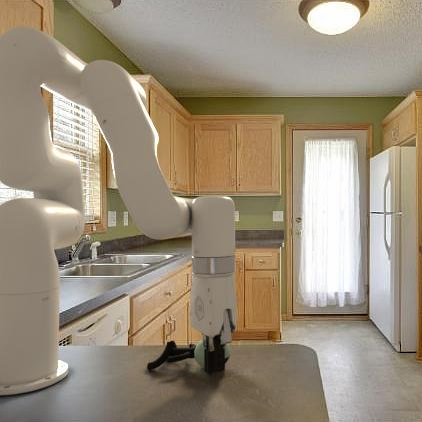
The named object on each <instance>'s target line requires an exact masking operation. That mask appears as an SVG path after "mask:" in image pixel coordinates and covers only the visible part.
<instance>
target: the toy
mask: <svg viewBox="0 0 422 422" xmlns="http://www.w3.org/2000/svg"><path fill="white" fill-rule="evenodd" d="M204 349H206V348H204V346H203V338H202V339H200V341H199V342H198V343H197V344H195V343H189V345H188V347H177V343H176V342H175V340H169V341H166V345H165V347H164V349H163V351H162V353H161V354H160V356H159V357H158V358H157V359H155V360H153V361H149V362H148V363H147V364H146V369H147V370H148V371H151V370H156V369H157V368H159V367H161V366H162V365H163V364H164V363H165V362H167V364H170V363H171V364H172V363H177V362H182V361H184V360H187V359H194V360H195V362H196V363H197V365H198V366H200V367H201V368H203V369H204ZM230 357H231V347H230V343H228V344H226V348H225V365H226V364H227V363H228V362H229V359H230Z"/></svg>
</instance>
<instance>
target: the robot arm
mask: <svg viewBox="0 0 422 422" xmlns="http://www.w3.org/2000/svg"><path fill="white" fill-rule="evenodd" d="M41 88H43V89H45V90H47V91H48V92H50V93H52V94H54V95H55V96H57V97H59V98H62V99H63V100H66V101H68V102H70V103H73V104H75V105H77V106H81V107H83V108H86V109H88V110H90V112H91V114H92V116H93V117H94V119H95V121H96V123H97V125H98V127H99V130H100V132H101V134H102V135H103V138H104V140H105V142H106V144H107V146H108V149H109V151H110V153H111V165H112V169H113V177H114V180H115V184H116V187H117V190H118V193H119V195H120V197H121V199H122V201H123V204H124V206H125V208H126V209H127V211H128V214H129V217H130V219H132V221H133V223H134V225H135V226H136V228H137V229H138V230H139V231H140V232H141V233H142V234H143V235H145V236H146V237H148V238H150V239H153V240H168V239H176V238H181V237H187V236H191V276H192V281H191V287H190V301H189V302H190V303H189V305H190V306H189V325H190V327H192V328H193V329H194V330H196V331H198V332H200V333H201V336H202V339H203V346H204V348H206V349H204V368H203V369H204V372H205V373H207V374H208V375H214V374H217V373H221V372H224V371H225V370H226V364H225V348H226V344H231V343H232V342H233V337H232V334H234V333H236V331H237V328H238V302H237V301H238V299H237V290H236V289H237V288H236V281H235V275H236V207H235V206H236V205H235V202H234V201H235V200H233V199H232V198H231V197H229V196H224V195H203V196H198V197H195V198H189V197H188V198H187V197H181V196H177V195H174V194H173V192H172V190H171V188H170V186H169V184H168V182H167V180H166V178H165V175H164V173H163V170H162V169H161V166H160V163H159V159H158V154H157V153H158V152H157V149H158V146H159V144H160V137H159V133H158V132H157V129H156V128H155V125H154V124H153V121H152V120H151V119H152V118H151V117H150V114H149V113H148V111H147V104H148V103H147V101H148V100H147V94H146V91H145V90H144V88H143V86H142V85H141V84H140V82H139V81H137V80H136V79H135V78H134V77H133V76H132V75H131V74H130V73H129V72H128V71H127V70H126V69H125V68H124V67H122V66H121V65H120V64H118V63H116V62H115V61H111V60H108V59H107V60H106V59H96V60H93V61H90V62H89V63H87V62H86V61H84V60H82V58H80V57H79V56H78V55H76V54H75V53H74V52H73V51H72V50H70V49H69V48H67V46H65V45H64V44H62V43H61V42H60V41H59V40H58V39H57V38H54V37H53V36H52V35H50V34H48V33H46V32H44V31H43V30H40V29H38V28H35V27H30V26H17V27H13V28H10V29H9V30H7V31H5V32H4V33H2V34H1V35H0V183H1V184H2V185H4V186H6V187H8V188H11V189H15V190H17V191H18V190H19V191H24V192H33V197H17V198H12V199H9V200H7V201H4V202H3V203H1V204H0V396H12V395H13V396H14V395H20V394H24V393H30V392H34V391H37V390H41V389H44V388H47V387H50V386H52V385H54V384H56V383H58V382H60V381H62V380H63V379H64V378H65V377H67V375H68V373H69V365H68V363H67V362H64V361H62V360H59V356H60V355H59V352H60V350H59V349H60V348H59V347H60V304H61V303H60V300H61V297H60V296H61V273H60V266H59V262H58V258H57V255H56V252H55V250H60V249H65V248H68V247H71V246H72V245H74V244H75V243H77V242H78V241H79V239H81V237H82V235H83V233H84V231H85V226H86V213H85V212H86V211H85V199H84V186H83V177H82V171H81V167H80V164H79V163H78V160H77V159H76V157H75V156H74V155H73V154H72V153H71V152H70V151H69V150H67V149H65V148H63V147H61V146H59V145H56V144H54V143H53V140H52V133H51V127H50V126H51V125H50V124H51V123H50V114H49V110H48V108H47V105H46V102H45V99H44V97H43V94H42V89H41Z"/></svg>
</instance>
